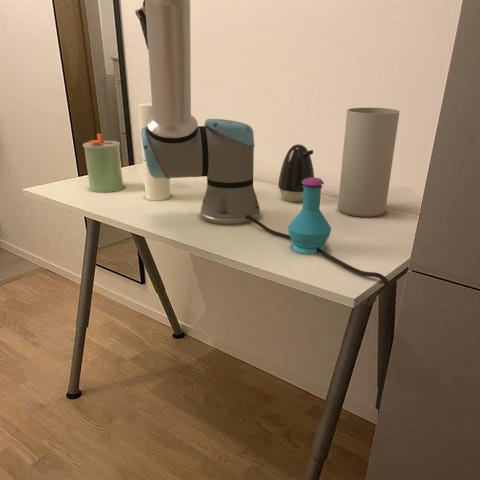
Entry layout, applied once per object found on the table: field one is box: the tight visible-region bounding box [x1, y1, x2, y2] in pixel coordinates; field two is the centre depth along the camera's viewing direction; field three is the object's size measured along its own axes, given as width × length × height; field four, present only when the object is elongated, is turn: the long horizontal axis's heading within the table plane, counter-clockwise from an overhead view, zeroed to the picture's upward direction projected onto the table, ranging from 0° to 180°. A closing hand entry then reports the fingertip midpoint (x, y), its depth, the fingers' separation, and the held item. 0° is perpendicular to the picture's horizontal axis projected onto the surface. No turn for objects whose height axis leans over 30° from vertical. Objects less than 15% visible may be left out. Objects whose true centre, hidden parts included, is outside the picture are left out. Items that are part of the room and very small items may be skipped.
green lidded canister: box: [82, 140, 124, 193], centre depth 153 cm, size 11×11×13 cm
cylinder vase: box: [337, 107, 401, 218], centre depth 129 cm, size 12×12×25 cm
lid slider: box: [88, 133, 105, 144], centre depth 148 cm, size 4×3×2 cm
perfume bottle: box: [287, 176, 332, 255], centre depth 107 cm, size 9×9×15 cm
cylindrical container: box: [137, 102, 171, 201], centre depth 141 cm, size 7×7×25 cm
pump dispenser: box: [278, 143, 315, 203], centre depth 141 cm, size 10×10×15 cm
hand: (163, 79), depth 142 cm, fingers closed
